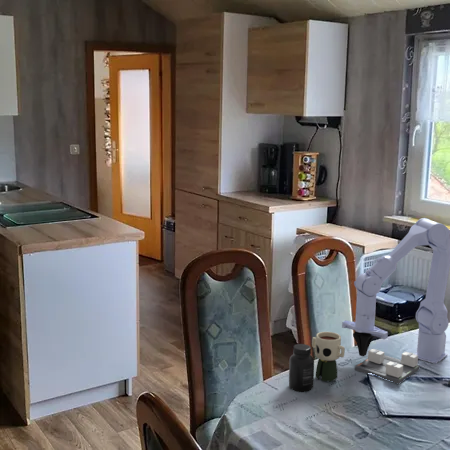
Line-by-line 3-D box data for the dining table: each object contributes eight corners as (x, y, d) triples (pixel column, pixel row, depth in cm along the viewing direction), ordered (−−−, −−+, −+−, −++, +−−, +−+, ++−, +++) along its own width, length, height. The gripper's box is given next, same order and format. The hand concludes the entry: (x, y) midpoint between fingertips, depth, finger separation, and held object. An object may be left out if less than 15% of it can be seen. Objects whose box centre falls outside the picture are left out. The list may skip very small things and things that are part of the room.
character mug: (303, 376, 179) (305, 333, 176) (317, 369, 184) (319, 327, 182) (335, 388, 172) (337, 344, 169) (349, 380, 177) (351, 337, 174)
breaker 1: (389, 370, 180) (390, 360, 179) (402, 375, 177) (403, 364, 177) (385, 373, 178) (386, 363, 177) (398, 377, 175) (399, 367, 175)
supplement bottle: (312, 383, 175) (314, 343, 172) (313, 393, 168) (315, 352, 166) (288, 381, 175) (290, 341, 173) (288, 392, 169) (290, 351, 166)
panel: (377, 356, 194) (377, 352, 194) (419, 369, 185) (419, 365, 185) (354, 369, 184) (355, 365, 184) (398, 384, 175) (398, 380, 175)
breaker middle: (371, 357, 189) (372, 348, 188) (383, 361, 186) (384, 351, 186) (367, 360, 187) (368, 350, 187) (379, 364, 185) (380, 354, 184)
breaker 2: (404, 360, 187) (405, 351, 187) (417, 364, 185) (418, 354, 184) (401, 363, 185) (401, 353, 185) (413, 367, 183) (414, 357, 182)
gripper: (337, 310, 189) (335, 352, 191) (380, 321, 179) (377, 365, 182) (349, 305, 194) (347, 346, 197) (392, 316, 185) (389, 358, 187)
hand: (362, 355), depth 190 cm, fingers closed
